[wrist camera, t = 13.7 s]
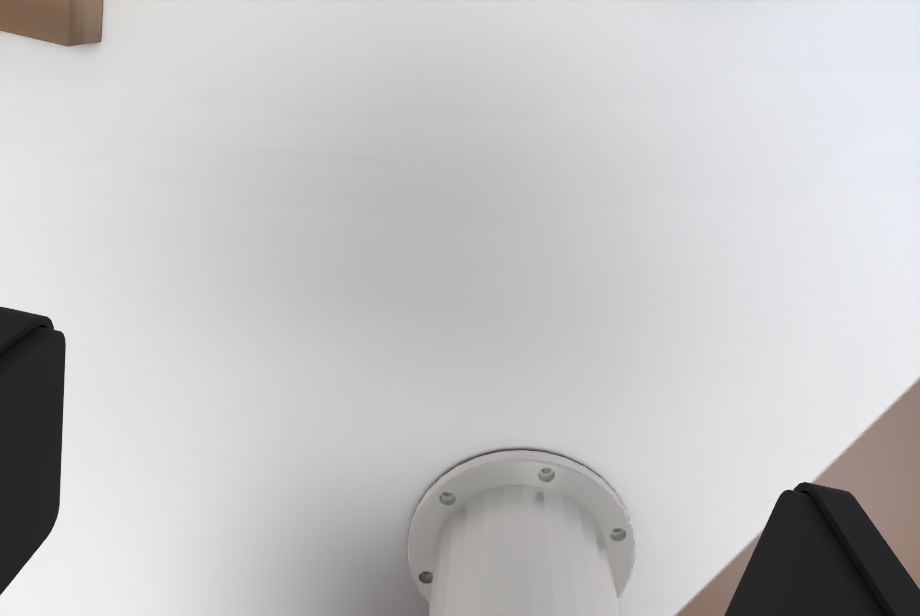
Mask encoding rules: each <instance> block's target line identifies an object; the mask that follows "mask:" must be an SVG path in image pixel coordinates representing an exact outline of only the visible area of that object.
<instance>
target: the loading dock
mask: <svg viewBox="0 0 920 616" xmlns="http://www.w3.org/2000/svg"><path fill="white" fill-rule="evenodd" d="M102 9H103V0H0V31H4V32H8V33H13V34H17V35H21V36H26V37H30V38H34V39H38V40H43V41H47V42H51V43H55V44H60V45H64V46H74V45H81V44H88V43H95V42H101V29H102Z"/></svg>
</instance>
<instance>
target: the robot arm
mask: <svg viewBox="0 0 920 616" xmlns="http://www.w3.org/2000/svg"><path fill="white" fill-rule="evenodd" d="M65 347H66V344H65V337H64V334H63V333H62V332H61V331H56V330H54V327H53V324H52V321H51V320H50V319H49V318H48V317H46V316H42V315H37V314H32V313H28V312H23V311H19V310H14V309H9V308H5V307H0V595H1V594H2V592H3V591H4V590H5V589H6V588H7V586H8V585H9V584H10V583H11V581H12V580H13V579H14V578H15V576H16V575H17V574H18V573H19V571H20V570H21V569H22V568H23V566H24V565H25V564H26V563H27V562H28V560H29V559H30V558H31V557H32V555H33V554H34V553H35V552H36V550H37V549H38V548H39V547H40V545H41V544H42V543H43V542H44V540H45V539H46V538H47V537H48V535H49V534H50V532H51V530H52V528H53V526H54V524H55V521H56V519H57V515H58V511H59V503H60V477H61V451H62V425H63V399H64V373H65ZM544 468H547V469H544ZM634 556H635V542H634V537H633V532H632V528H631V524H630V521H629V518H628V515H627V512H626V509H625V507H624V506H623V504H622V502H621V501H620V499H619V498H618V496H617V494H616V493H615V492H614V491H613V490H612V489H611V488H610V486H609V485H608V484H607V483H606V482H605V481H604V480H603V479H602V478H600V477H599V476H598V475H596V474H595V473H593V472H592V471H590V470H589V469H588V468H586V467H585V466H582V465H580V464H578V463H576V462H574V461H571V460H569V459H567V458H565V457H561V456H557V455H553V454H549V453H545V452H537V451H526V450H516V451H503V452H496V453H492V454H488V455H484V456H480V457H477V458H474V459H472V460H470V461H467V462H465V463H463V464H461V465H458V466H457V467H455V468H454V469H452V470H451V471H449V472H448V473H446V474H445V475H443V476H442V477H441V478H440V479H439V480H438V481H437V482H436V483H435V484H434V485H433V486H432V487H431V488H430V489H429V490H428V491H427V492H426V494H425V495H424V497H423V498H422V500H421V501H420V503H419V504H418V506H417V508H416V511H415V513H414V516H413V519H412V521H411V526H410V532H409V538H408V562H409V566H410V570H411V575H412V577H413V579H414V581H415V583H416V585H417V588H418V590H419V592H420V593H421V594H422V595H423V597H424V598H425V599H426V601H427V602H428V603H429V605H430V608H429V616H621V615H620V610H619V605H618V600H617V599H618V598H619V597H620V596H621V594H622V592H623V591H624V589H625V587H626V585H627V583H628V581H629V579H630V576H631V572H632V568H633V565H634ZM725 616H920V589H919V588H918V587H917V585H916V584H915V583H914V581H913V580H912V578H911V577H910V575H909V574H908V573H907V571H906V570H905V568H904V567H903V565H902V564H901V563H900V561H899V560H898V558H897V557H896V555H895V554H894V553H893V551H892V550H891V548H890V547H889V546H888V544H887V543H886V541H885V540H884V539H883V537H882V536H881V534H880V533H879V531H878V530H877V529H876V527H875V526H874V524H873V523H872V521H871V520H870V519H869V517H868V516H867V514H866V513H865V512H864V510H863V509H862V507H861V506H860V504H859V503H858V502H857V500H856V499H855V497H854V496H853V495H852V494H851V493H850V492H847V491H843V490H839V489H834V488H830V487H825V486H821V485H816V484H812V483H807V482H803V483H800V484H799V485H798V486H796V487H795V488H794V490H793V491H792V490H786V491H784V492H783V493H782V494H781V495H780V497H779V498H778V500H777V502H776V504H775V507H774V509H773V511H772V513H771V515H770V517H769V520H768V522H767V524H766V526H765V528H764V531H763V533H762V535H761V537H760V539H759V541H758V544H757V546H756V548H755V550H754V552H753V555H752V557H751V559H750V561H749V563H748V566H747V568H746V570H745V572H744V574H743V576H742V579H741V581H740V583H739V585H738V587H737V589H736V592H735V594H734V596H733V598H732V600H731V602H730V605H729V607H728V609H727V611H726V613H725Z"/></svg>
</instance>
